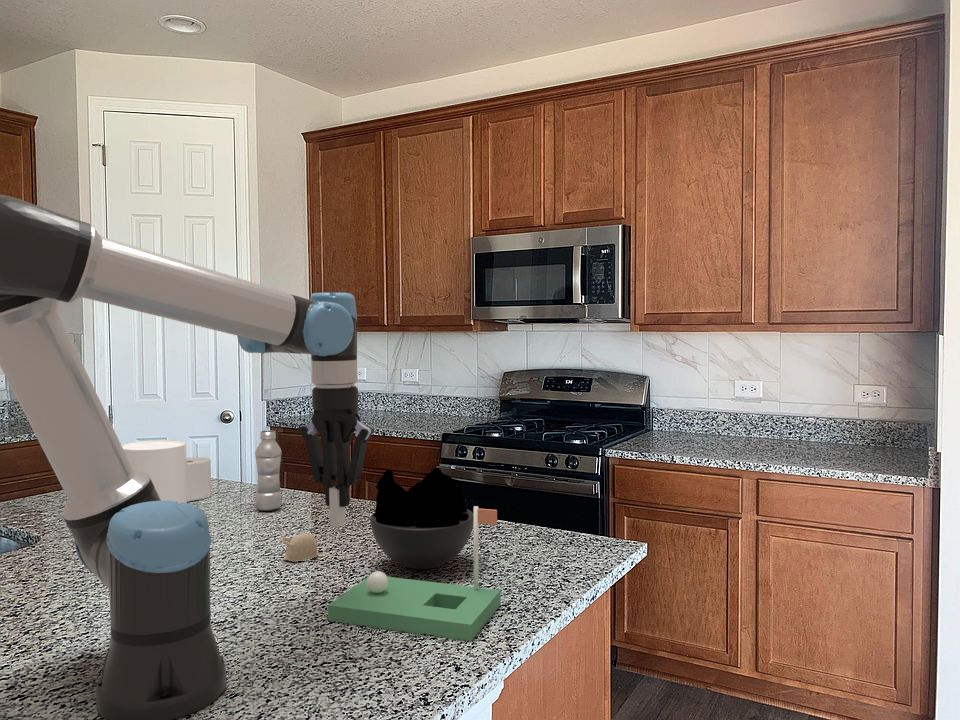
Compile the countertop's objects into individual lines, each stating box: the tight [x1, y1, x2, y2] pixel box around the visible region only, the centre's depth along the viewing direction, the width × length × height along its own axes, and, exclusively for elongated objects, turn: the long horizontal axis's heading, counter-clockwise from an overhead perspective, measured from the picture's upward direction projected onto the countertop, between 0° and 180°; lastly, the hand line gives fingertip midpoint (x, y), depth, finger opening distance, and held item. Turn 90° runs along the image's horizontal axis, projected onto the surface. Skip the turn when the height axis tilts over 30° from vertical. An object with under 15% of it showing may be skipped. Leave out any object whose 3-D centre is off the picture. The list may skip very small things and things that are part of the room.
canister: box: [121, 439, 188, 503], centre depth 165 cm, size 14×14×20 cm
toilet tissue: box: [186, 456, 212, 502], centre depth 200 cm, size 11×12×10 cm
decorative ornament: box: [280, 532, 319, 563], centre depth 147 cm, size 4×8×5 cm, turn 128°
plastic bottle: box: [254, 429, 283, 512], centre depth 186 cm, size 6×7×20 cm
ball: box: [367, 570, 388, 593], centre depth 122 cm, size 4×4×4 cm
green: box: [327, 505, 502, 642], centre depth 120 cm, size 15×24×16 cm, turn 72°
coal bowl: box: [369, 467, 474, 570], centre depth 142 cm, size 20×20×19 cm
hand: (338, 524), depth 124 cm, fingers closed
